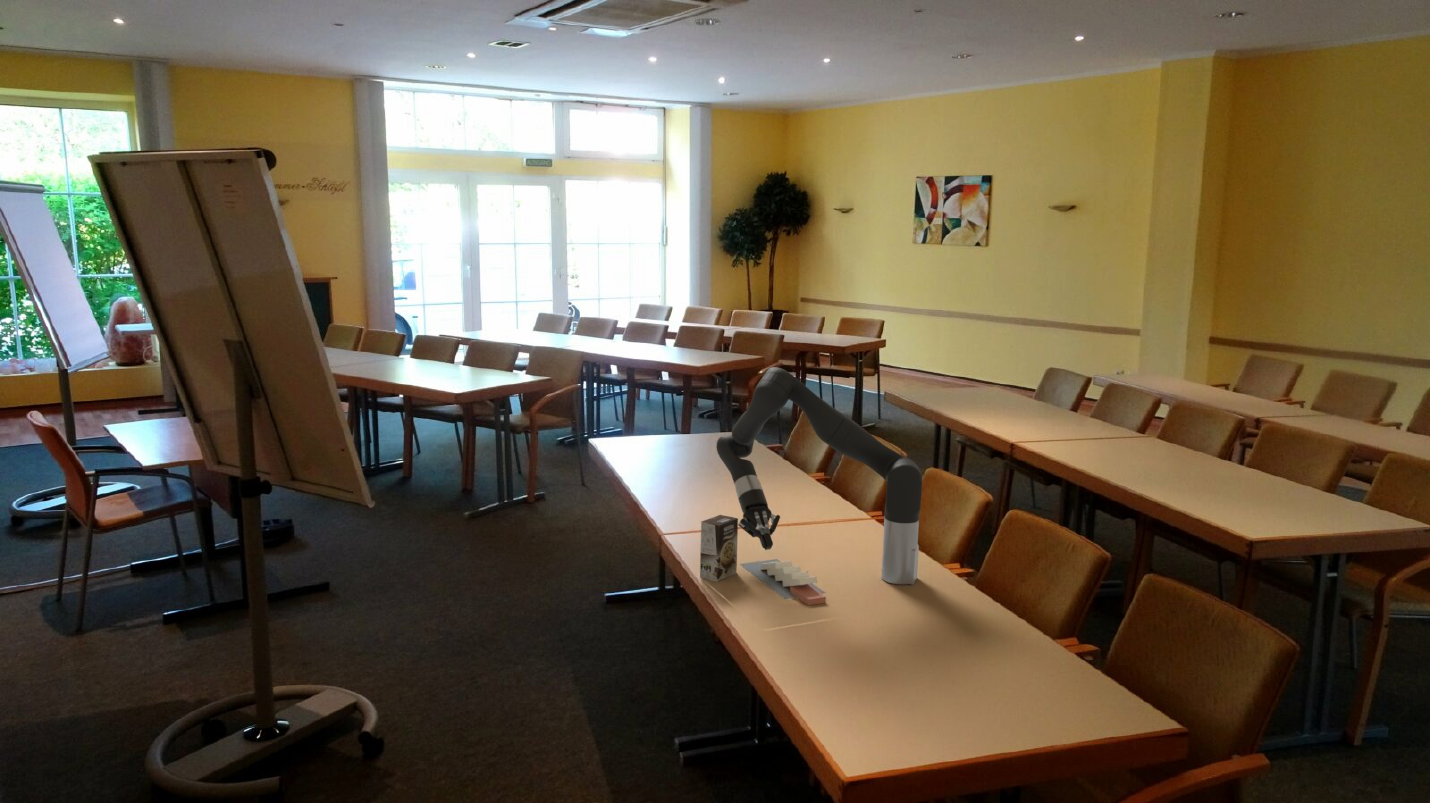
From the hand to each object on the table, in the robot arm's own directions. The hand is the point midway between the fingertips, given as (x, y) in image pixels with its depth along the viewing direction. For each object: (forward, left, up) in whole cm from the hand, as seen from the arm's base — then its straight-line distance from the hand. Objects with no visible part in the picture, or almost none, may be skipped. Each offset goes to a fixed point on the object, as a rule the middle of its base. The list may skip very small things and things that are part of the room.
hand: (768, 548), depth 266 cm
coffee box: (+11, +9, -7) cm, 16 cm away
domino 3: (-6, +6, -6) cm, 10 cm away
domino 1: (+1, -1, -6) cm, 6 cm away
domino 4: (-9, +9, -5) cm, 14 cm away
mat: (-5, +4, -7) cm, 10 cm away
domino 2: (-3, +2, -6) cm, 7 cm away
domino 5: (-12, +12, -5) cm, 18 cm away
